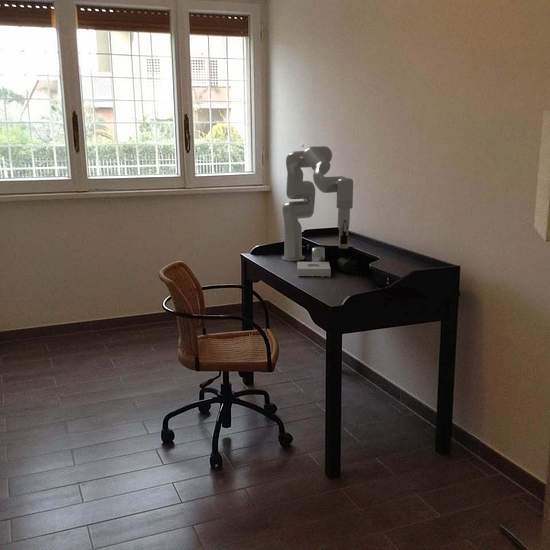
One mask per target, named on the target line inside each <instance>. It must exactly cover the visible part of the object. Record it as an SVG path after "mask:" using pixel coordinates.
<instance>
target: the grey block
mask: <svg viewBox="0 0 550 550" xmlns="http://www.w3.org/2000/svg"><path fill="white" fill-rule="evenodd" d="M325 249H326V248H325V247H324V246H313V247H312V248H311V262H326V261H325V258H326V257H325V256H326V255H325V253H326V251H325Z"/></svg>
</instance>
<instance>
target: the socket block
mask: <svg viewBox="0 0 550 550" xmlns="http://www.w3.org/2000/svg"><path fill="white" fill-rule="evenodd" d="M296 263H297V264H296V265H297V266H296V271H297V273H296V275H297V274H298V275H297V277H298V276H312V277H311V278H314V277H313V276H321V277H320V278H325V277H324V276H329V277H328V278H331V277H330V276H332V275H331V273H332V272H331V270H332V269H331V266H330V261H325V262H312V261H296Z"/></svg>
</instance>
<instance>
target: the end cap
mask: <svg viewBox="0 0 550 550" xmlns="http://www.w3.org/2000/svg"><path fill="white" fill-rule="evenodd" d="M357 263H358V262H357V261H356V260H353V258H351V257H350V258H349V257H348V258H345V257H341V256H340V257H339V258H338V259H337V261H336V266H337V267H338V268H339V270H341V271H342V272H343V273H345V274H347V275H355V274H354V273H356V274H357V272H356V271H357V267H352V266H357Z"/></svg>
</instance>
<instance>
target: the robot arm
mask: <svg viewBox="0 0 550 550" xmlns="http://www.w3.org/2000/svg"><path fill="white" fill-rule="evenodd" d="M332 159H333V152H332V150H331V148H329V147H328V146H327V145H326V146H323V145H322V146H316V145H315V146H309V147H306V148H305V150H295V151H291V152H289V153H288V154H287V156H286V158H285V167H286V174H287V177H286V197H287V198H288V199H289V200H293V201H287V202H285V203H284V204H283V205H282V210H281V212H282V218H283V226H284V229H283V230H284V233H283V234H284V235H283V236H284V237H283V238H284V240H283V242H284V247H283V249H284V250H283V251H284V252H283V253H284V255H282V256H281V260H282V261H288V262H300V261H302V260H304V259H305V256H304V255H303V254H302V253H303V250H302V249H303V248H302V247H303V246H302V245H303V243H302V240H303V238H302V237H303V233H302V230H303V229H302V228H303V227H302V224H301V223H300V221H299V219H308V218H312V216H313V215H314V214H315V213H314V212H315V203H316V202H315V201H316V188H317V189H318V190H319V191H320V192H321V193H324V194H331V193H336V209H338V211H337V228H338V231H339V230H340V229H341V244H347V239H348V240H349V235H348V236H347V229H350V222H351V221H350V219H351V218H350V217H351V209H353V204H354V203H353V202H354V201H353V200H354V180H353V179H352V178H349V177H345V176H325V175H326V174H327V173H328V172H329V171H330V169H331V163H330V162H331V161H332ZM302 168H311V169H312V171H313V176H312V177H313V182H312V181H311V180H304V171H303V170H302ZM295 200H296V201H295ZM347 227H348V228H347ZM342 228H344V229H342ZM343 230H344V231H343Z"/></svg>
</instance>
